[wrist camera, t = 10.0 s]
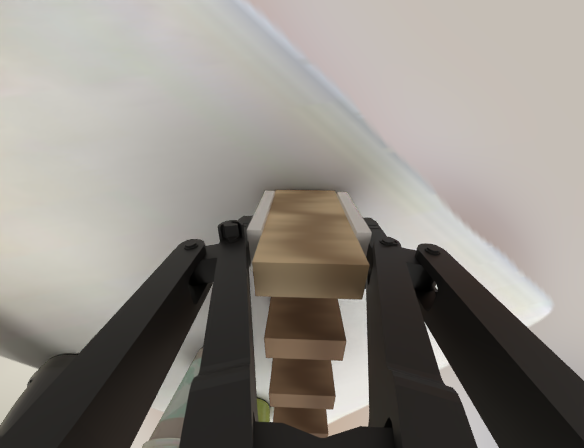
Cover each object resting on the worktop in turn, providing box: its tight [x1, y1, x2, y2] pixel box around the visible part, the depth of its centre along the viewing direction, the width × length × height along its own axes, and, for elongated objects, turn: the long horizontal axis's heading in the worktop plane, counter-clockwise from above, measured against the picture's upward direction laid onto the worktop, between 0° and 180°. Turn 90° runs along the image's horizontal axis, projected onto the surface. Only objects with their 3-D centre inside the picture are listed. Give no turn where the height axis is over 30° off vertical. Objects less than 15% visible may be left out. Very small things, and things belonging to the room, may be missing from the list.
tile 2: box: [264, 297, 346, 361], centre depth 18 cm, size 5×2×10 cm, turn 90°
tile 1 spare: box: [252, 190, 369, 299], centre depth 14 cm, size 5×2×10 cm, turn 90°
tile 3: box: [269, 358, 336, 409], centre depth 21 cm, size 5×2×10 cm, turn 90°
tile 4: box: [273, 407, 328, 438], centre depth 24 cm, size 5×2×10 cm, turn 90°
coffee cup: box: [142, 348, 203, 448], centre depth 26 cm, size 8×8×12 cm
